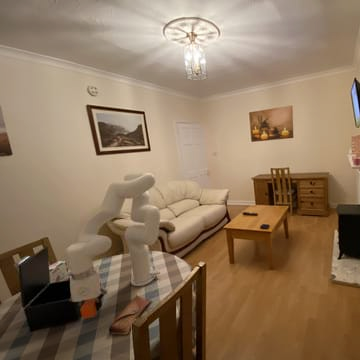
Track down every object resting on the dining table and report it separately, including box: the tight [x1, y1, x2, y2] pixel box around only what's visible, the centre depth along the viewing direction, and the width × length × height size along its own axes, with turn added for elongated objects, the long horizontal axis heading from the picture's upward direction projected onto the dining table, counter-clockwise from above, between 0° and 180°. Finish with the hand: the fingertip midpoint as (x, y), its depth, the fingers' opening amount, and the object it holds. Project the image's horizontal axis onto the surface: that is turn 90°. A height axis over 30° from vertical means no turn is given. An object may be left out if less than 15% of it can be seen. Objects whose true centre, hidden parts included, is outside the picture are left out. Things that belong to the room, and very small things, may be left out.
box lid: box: [13, 246, 50, 309], centre depth 90 cm, size 18×17×6 cm
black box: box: [23, 280, 86, 332], centre depth 95 cm, size 18×17×11 cm
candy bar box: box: [49, 260, 71, 283], centre depth 106 cm, size 11×5×16 cm, turn 168°
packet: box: [80, 298, 103, 320], centre depth 90 cm, size 4×8×5 cm, turn 14°
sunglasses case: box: [108, 294, 152, 336], centre depth 91 cm, size 18×7×7 cm, turn 173°
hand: (92, 309), depth 90 cm, fingers closed on packet, 4 cm apart
